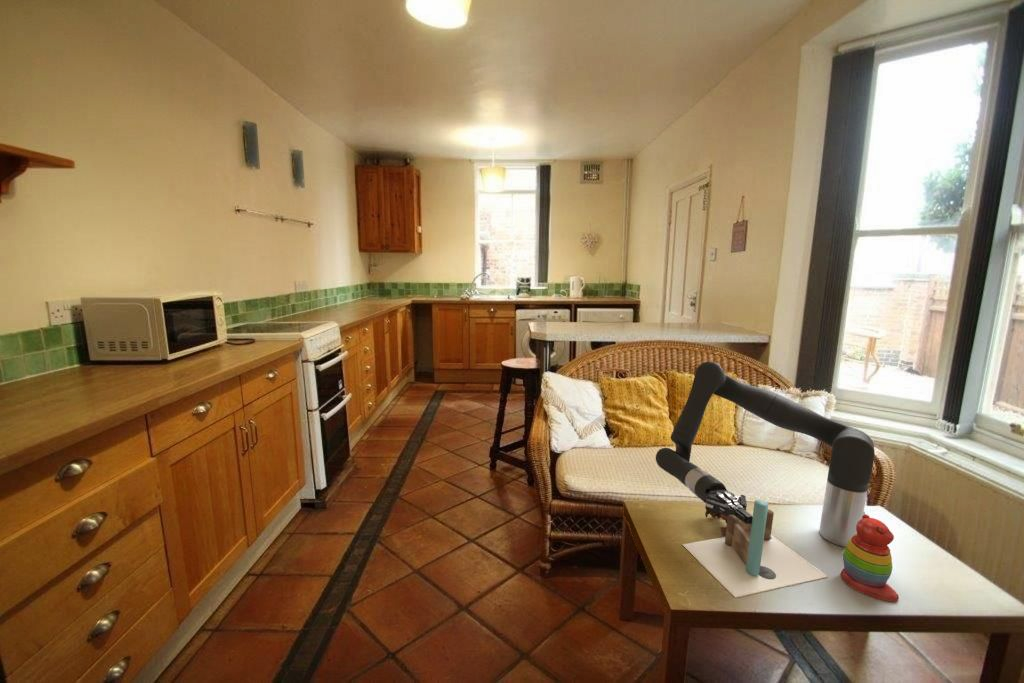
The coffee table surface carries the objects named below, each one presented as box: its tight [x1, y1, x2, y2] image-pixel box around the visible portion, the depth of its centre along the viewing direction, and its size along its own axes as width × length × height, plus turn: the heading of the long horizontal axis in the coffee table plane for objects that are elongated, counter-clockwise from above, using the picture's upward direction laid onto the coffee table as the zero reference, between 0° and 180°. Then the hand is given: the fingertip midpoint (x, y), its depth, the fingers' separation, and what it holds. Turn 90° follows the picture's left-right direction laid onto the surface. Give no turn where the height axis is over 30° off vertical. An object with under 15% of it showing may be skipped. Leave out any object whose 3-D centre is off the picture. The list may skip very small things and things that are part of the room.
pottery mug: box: [704, 507, 728, 537], centre depth 129 cm, size 12×10×8 cm
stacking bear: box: [840, 513, 900, 603], centre depth 104 cm, size 11×10×18 cm
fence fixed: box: [724, 508, 775, 547], centre depth 121 cm, size 15×3×8 cm, turn 105°
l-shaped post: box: [732, 499, 769, 576], centre depth 111 cm, size 12×3×20 cm, turn 177°
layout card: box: [682, 534, 829, 599], centre depth 114 cm, size 29×20×1 cm
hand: (750, 520), depth 107 cm, fingers closed
